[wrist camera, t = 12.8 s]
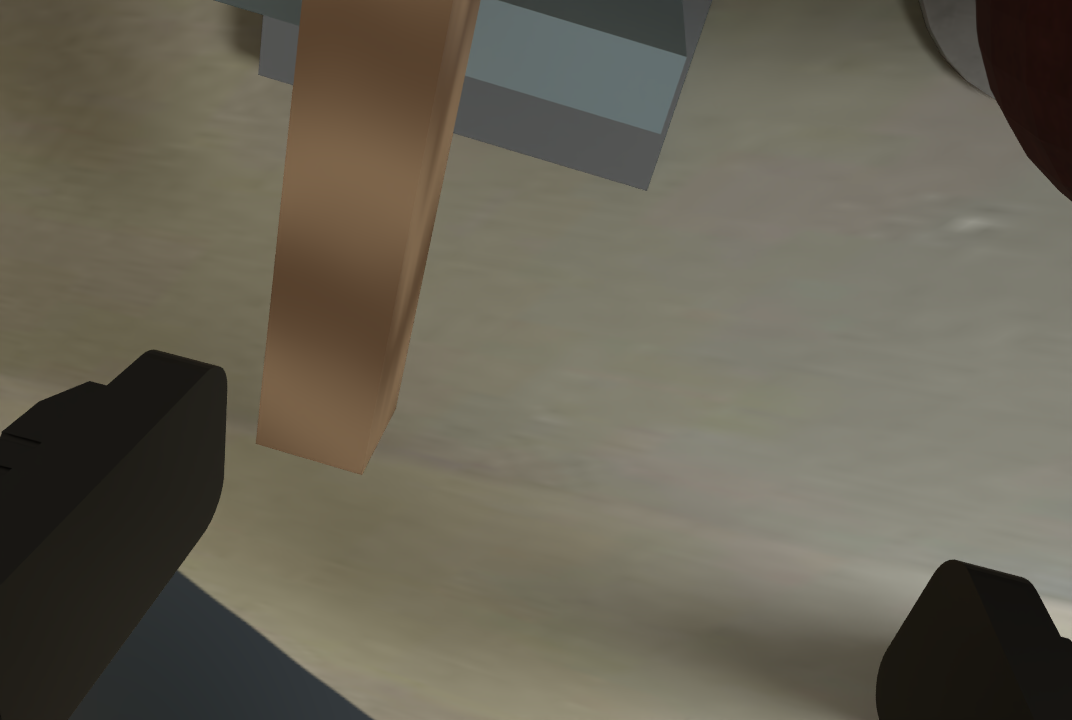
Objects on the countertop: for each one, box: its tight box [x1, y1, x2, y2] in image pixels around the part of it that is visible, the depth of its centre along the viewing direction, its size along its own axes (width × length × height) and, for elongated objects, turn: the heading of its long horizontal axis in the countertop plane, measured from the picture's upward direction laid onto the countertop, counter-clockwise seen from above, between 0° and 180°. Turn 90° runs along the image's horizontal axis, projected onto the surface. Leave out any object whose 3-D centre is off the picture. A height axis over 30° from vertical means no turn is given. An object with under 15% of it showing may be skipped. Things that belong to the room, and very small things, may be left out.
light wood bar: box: [256, 0, 481, 475], centre depth 20 cm, size 24×3×4 cm, turn 166°
